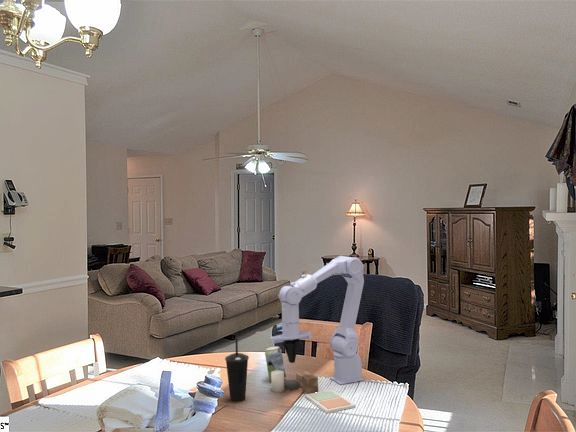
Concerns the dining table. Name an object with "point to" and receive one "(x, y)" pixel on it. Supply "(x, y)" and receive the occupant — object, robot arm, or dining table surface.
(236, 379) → the drinking cup
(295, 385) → the rubber puck
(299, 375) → the oak cube
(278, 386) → the ceramic cylinder
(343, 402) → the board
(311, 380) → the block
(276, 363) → the beverage can
